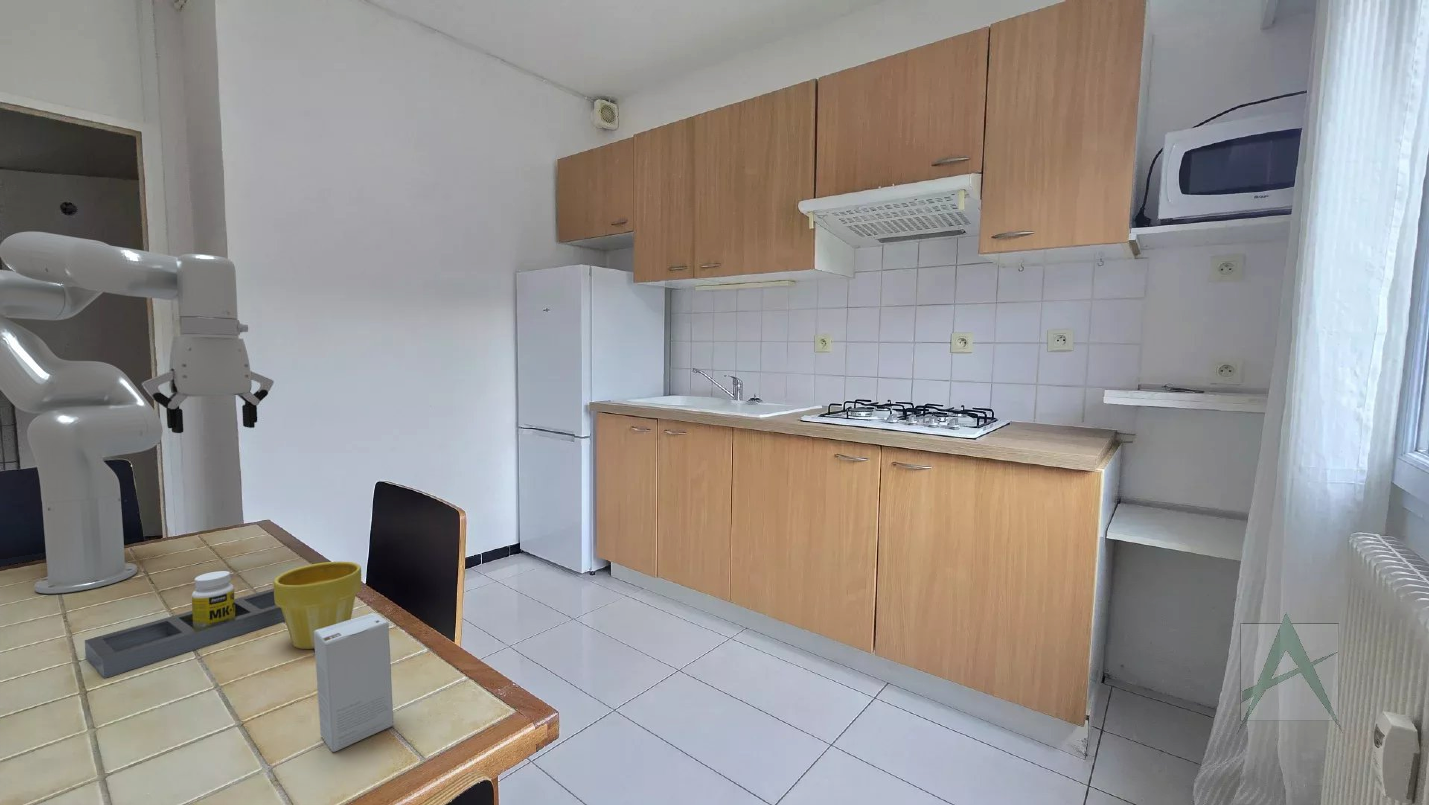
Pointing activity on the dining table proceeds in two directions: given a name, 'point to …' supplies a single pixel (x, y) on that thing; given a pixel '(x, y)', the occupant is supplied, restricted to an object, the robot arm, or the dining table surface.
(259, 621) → the grey long slotted tray
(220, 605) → the supplement bottle
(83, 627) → the dining table surface
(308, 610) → the plant pot
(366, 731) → the skincare box
